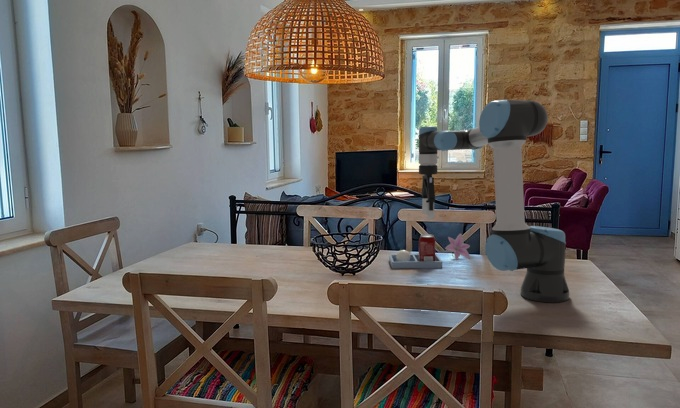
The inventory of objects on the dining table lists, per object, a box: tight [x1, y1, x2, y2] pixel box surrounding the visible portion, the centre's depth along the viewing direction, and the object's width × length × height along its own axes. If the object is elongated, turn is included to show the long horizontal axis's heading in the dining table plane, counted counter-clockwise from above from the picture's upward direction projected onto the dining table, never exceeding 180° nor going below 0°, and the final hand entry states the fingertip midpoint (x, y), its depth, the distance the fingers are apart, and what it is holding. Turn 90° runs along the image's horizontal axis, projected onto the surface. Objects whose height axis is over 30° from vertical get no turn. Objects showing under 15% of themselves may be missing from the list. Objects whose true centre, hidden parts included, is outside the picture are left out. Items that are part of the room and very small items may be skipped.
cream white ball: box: [395, 249, 411, 262], centre depth 220 cm, size 6×6×6 cm
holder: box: [388, 253, 443, 269], centre depth 220 cm, size 14×20×3 cm, turn 89°
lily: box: [444, 233, 471, 261], centre depth 233 cm, size 12×12×10 cm
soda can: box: [418, 233, 436, 261], centre depth 219 cm, size 7×7×12 cm
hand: (428, 216), depth 217 cm, fingers open, 13 cm apart
